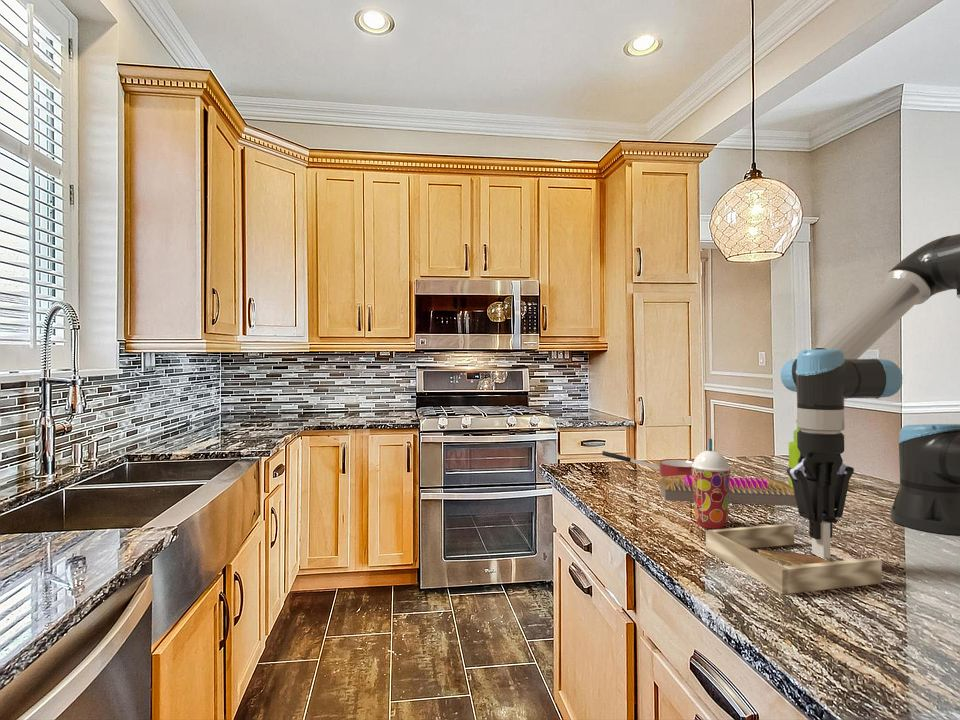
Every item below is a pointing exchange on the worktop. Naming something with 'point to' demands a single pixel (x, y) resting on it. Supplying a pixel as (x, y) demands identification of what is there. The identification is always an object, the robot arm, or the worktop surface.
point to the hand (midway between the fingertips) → (820, 555)
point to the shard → (790, 557)
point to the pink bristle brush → (733, 490)
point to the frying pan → (662, 465)
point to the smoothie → (711, 488)
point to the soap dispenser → (793, 453)
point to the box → (787, 579)
